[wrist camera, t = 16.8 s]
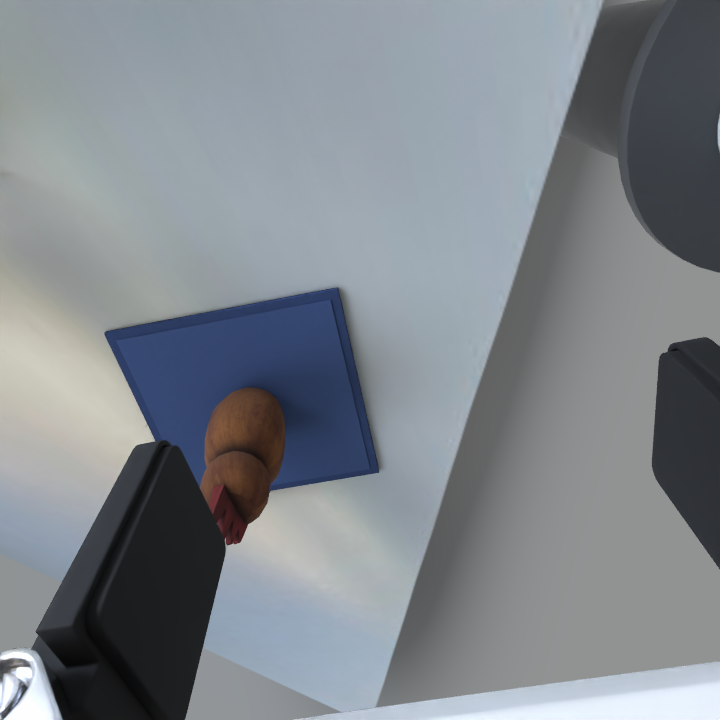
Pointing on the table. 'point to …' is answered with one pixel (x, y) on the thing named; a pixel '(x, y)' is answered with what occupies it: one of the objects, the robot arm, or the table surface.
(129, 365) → the blue square tray
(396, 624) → the table surface
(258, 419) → the wooden figurine
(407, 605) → the table surface
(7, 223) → the table surface
